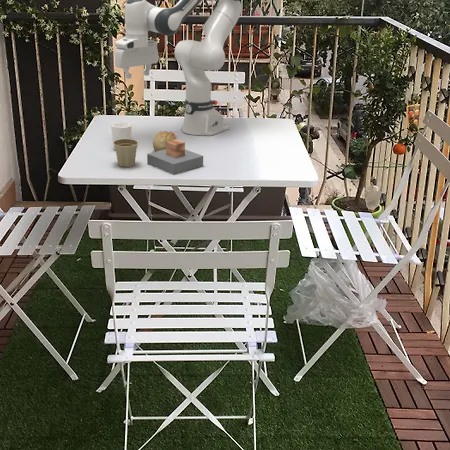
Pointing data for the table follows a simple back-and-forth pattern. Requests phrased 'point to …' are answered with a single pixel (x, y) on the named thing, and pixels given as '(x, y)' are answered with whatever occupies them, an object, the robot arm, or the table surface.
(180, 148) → the cube
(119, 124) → the white cup
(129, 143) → the flower pot
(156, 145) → the bread roll
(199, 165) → the plinth
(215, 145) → the table surface
